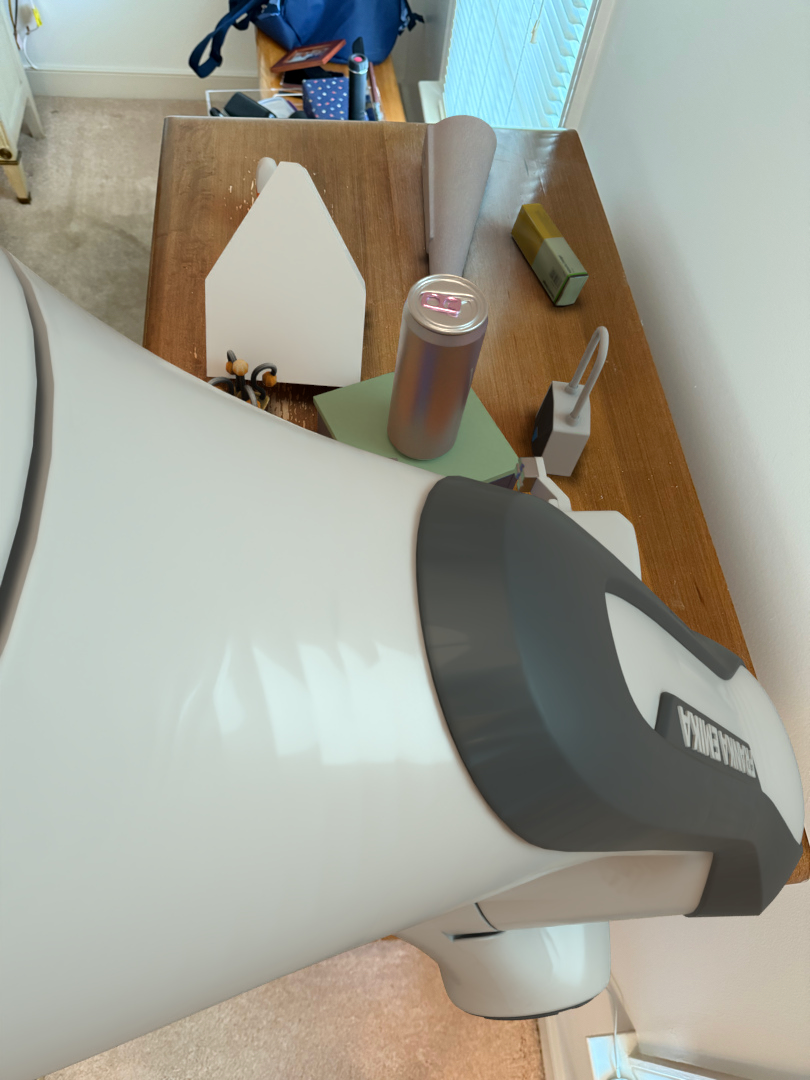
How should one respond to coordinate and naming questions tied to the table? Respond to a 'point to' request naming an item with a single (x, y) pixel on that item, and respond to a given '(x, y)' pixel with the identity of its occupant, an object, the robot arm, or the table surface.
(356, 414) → the cover
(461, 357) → the beverage can
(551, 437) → the padlock
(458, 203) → the grey tapered piece
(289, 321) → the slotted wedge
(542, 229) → the medication box
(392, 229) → the table surface
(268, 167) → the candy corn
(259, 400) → the black and orange candelabra
